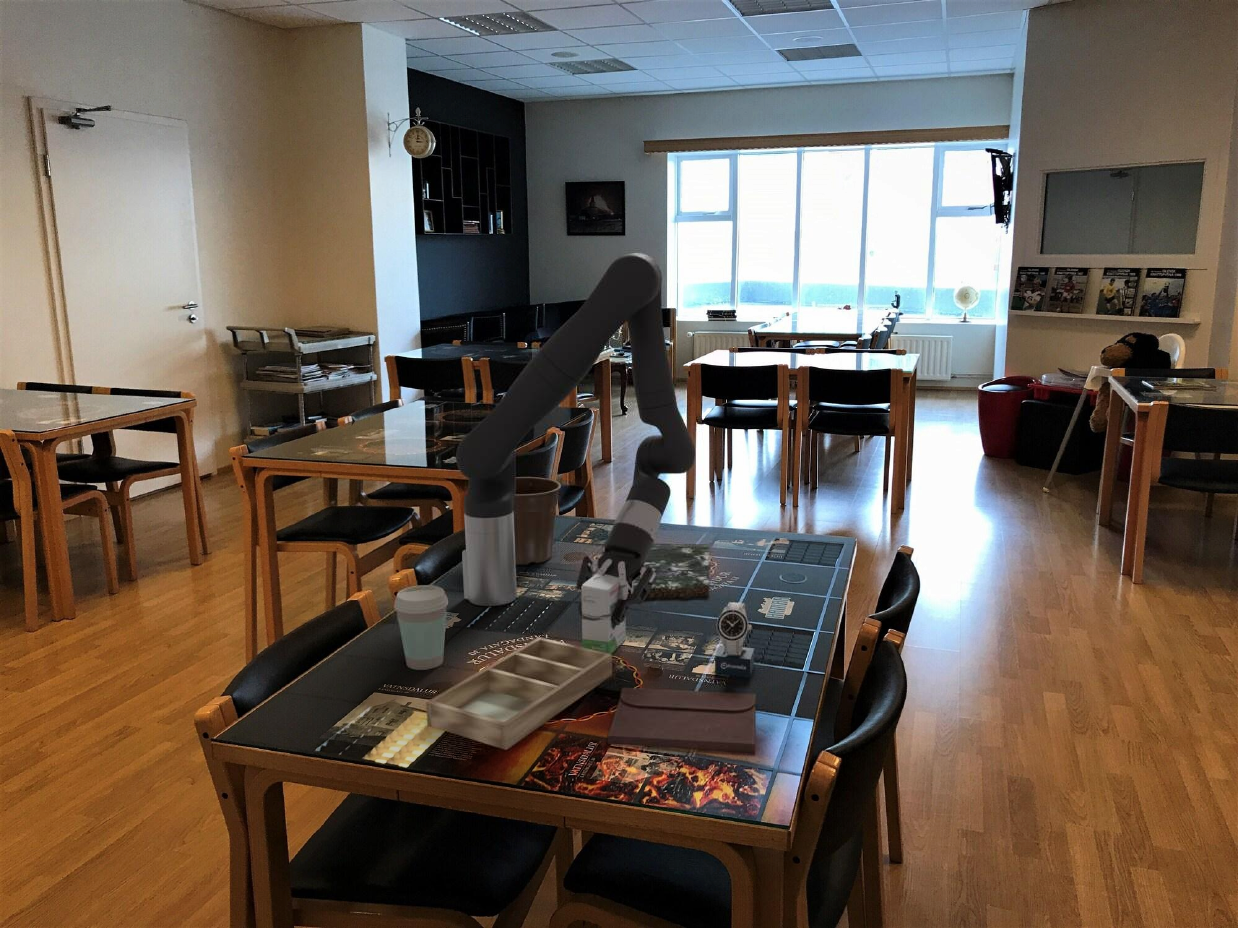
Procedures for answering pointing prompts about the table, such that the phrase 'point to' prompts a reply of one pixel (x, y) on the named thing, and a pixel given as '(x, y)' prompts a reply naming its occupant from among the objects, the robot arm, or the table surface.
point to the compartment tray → (519, 692)
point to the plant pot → (534, 518)
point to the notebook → (685, 720)
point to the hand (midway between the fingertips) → (598, 619)
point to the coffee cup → (422, 625)
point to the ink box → (601, 614)
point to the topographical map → (677, 570)
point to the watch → (733, 643)
